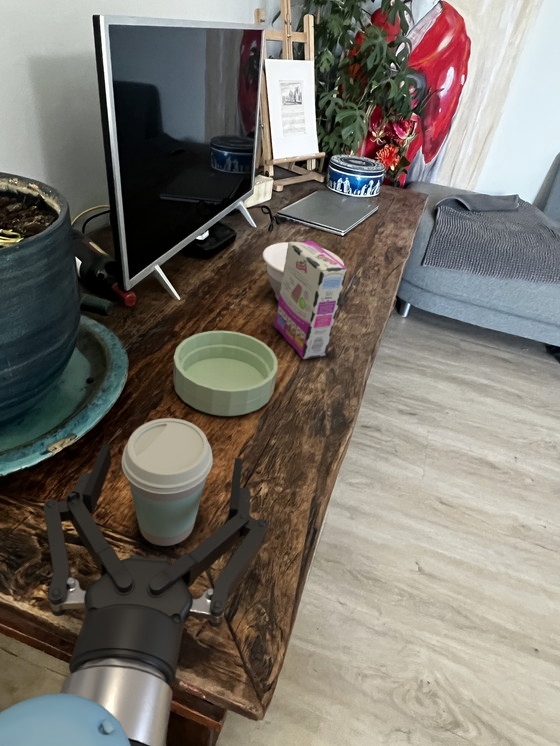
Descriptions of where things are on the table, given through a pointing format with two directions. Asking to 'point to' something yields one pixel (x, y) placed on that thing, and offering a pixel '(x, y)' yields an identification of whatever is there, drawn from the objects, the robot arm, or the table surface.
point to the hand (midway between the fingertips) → (173, 460)
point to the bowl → (280, 264)
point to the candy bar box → (309, 298)
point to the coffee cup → (167, 477)
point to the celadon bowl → (224, 372)
